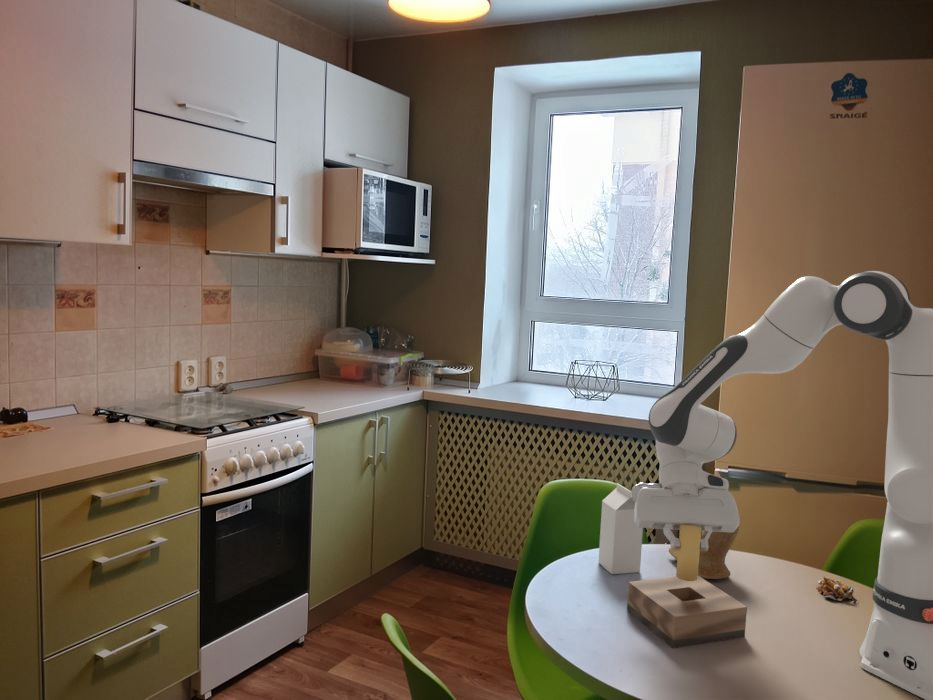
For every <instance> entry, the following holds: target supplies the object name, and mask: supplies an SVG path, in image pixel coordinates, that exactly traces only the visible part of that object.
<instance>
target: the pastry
mask: <svg viewBox="0 0 933 700" xmlns="http://www.w3.org/2000/svg"><path fill="white" fill-rule="evenodd" d="M818 584H819V586H818V587H816V588H815V589H816V590H817V592H818V593H819V594H822V596H823V597H824V598H830V599H831V600H835V601H843V600H844V599H849V600H852V601H853V604H856V605H857V604H859V601H858V600H857V599H855V597H854V596H853V594H854V588H853V587H852V586H850V587H849V586H848V585H847V584H845V583H843V582H842V581H840V580H839V579H837V580H835V579H832V578H830V577H828V576H827V577H826V576H825V575H824V576H823V578H822V579H820V580H818Z"/></svg>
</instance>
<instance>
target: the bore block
mask: <svg viewBox="0 0 933 700" xmlns="http://www.w3.org/2000/svg"><path fill="white" fill-rule="evenodd" d="M627 588H628V589H627V602H626V603H627V604H626V611H627V613H629V614H630V615H632V616H633V617H634V618H636V619H637V620H638V621H639V622H641V623H642V624H643V625H644V626H645V627H646V628H648V629H649V630H650V631H652V633H654V635H656V636H657V637H659V638H660V639H661V640H663V642H665V643H666V644H667V645H669V647H671V648H672V649H676V648H683V647H688V646H694V645H695V646H696V645H701V644H708V643H714V642H722V641H727V640H733V639H734V640H735V639H740V638H745V636H746V627H747V626H746V624H747V623H746V622H747V613H748V606H747V605H745V604H744V603H742V602H741V601H739V600H737V599H736V598H734V597H732V596H731V595H729V594H728V593H726V592H724V590H721V589H720V588H718V587H717V586H715V585H714V584H712V583H711V582H709V581H707V580H706V579H705V578H701V577H700V576H698V577H697V580H695V581H685V580H681V579H679V578H677V577H676V575H675V576H669V577H668V576H667V577H660V578H659V577H658V578H651V579H642V580H636V581H635V580H634V581H628V587H627Z"/></svg>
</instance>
